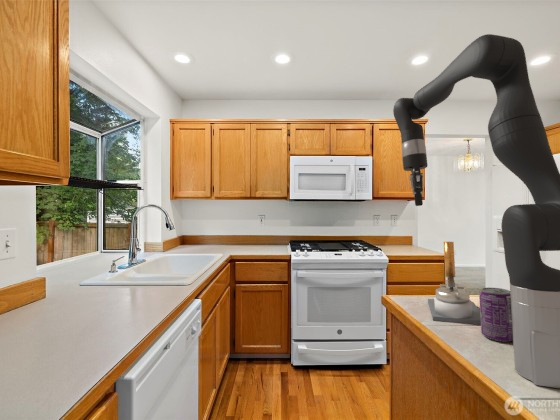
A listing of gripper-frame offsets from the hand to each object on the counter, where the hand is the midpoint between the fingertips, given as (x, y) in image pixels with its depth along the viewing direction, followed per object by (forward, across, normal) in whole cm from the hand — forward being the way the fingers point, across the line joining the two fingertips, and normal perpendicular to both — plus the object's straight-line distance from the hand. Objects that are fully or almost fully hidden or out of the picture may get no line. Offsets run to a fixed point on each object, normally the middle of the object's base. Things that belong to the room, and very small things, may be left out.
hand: (419, 205), depth 98 cm
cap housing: (+35, +2, -8) cm, 36 cm away
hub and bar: (+30, +2, -7) cm, 31 cm away
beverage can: (+37, -17, -14) cm, 43 cm away
